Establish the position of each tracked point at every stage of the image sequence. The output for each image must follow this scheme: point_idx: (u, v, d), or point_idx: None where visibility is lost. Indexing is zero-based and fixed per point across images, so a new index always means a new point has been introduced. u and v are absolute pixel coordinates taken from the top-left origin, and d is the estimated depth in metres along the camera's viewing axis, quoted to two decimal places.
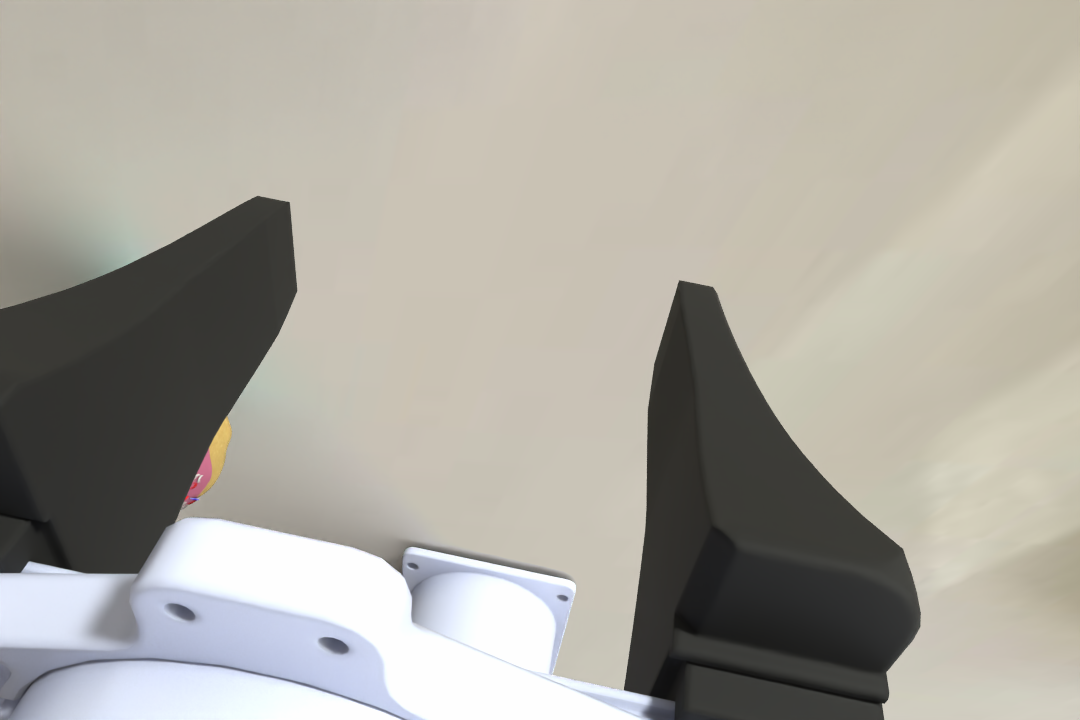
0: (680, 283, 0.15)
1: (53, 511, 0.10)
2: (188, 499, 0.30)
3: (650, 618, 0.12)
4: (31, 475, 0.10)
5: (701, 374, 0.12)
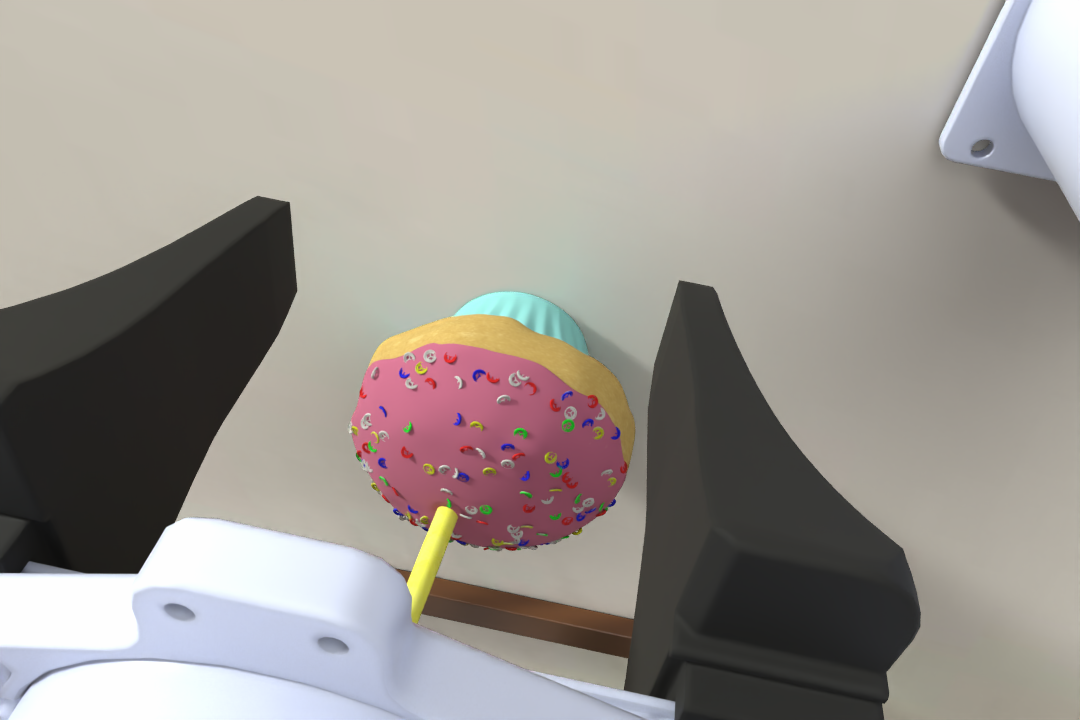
0: (680, 283, 0.15)
1: (53, 511, 0.10)
2: (564, 402, 0.23)
3: (650, 618, 0.12)
4: (31, 475, 0.10)
5: (701, 374, 0.12)
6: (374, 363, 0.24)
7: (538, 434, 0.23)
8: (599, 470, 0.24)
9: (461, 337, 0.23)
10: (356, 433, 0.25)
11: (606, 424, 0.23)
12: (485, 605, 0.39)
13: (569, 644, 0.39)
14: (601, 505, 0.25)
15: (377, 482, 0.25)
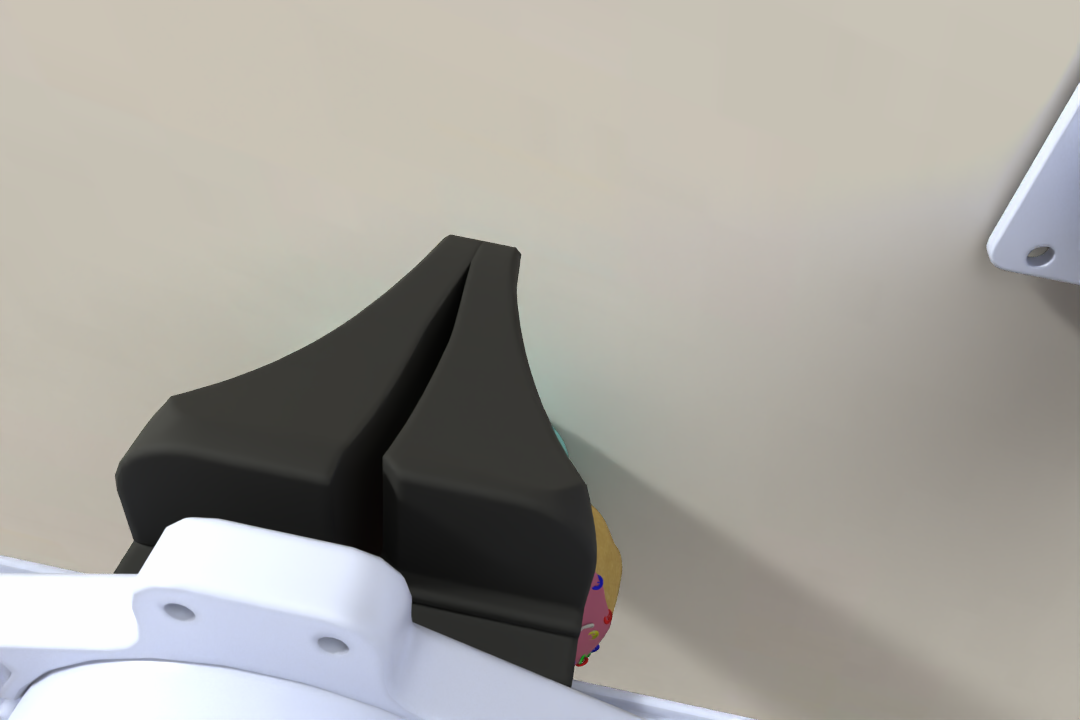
0: (481, 244, 0.15)
1: None
2: None
3: None
4: (336, 540, 0.09)
5: (463, 326, 0.12)
6: None
7: None
8: None
9: None
10: None
11: None
12: None
13: None
14: (581, 657, 0.21)
15: None
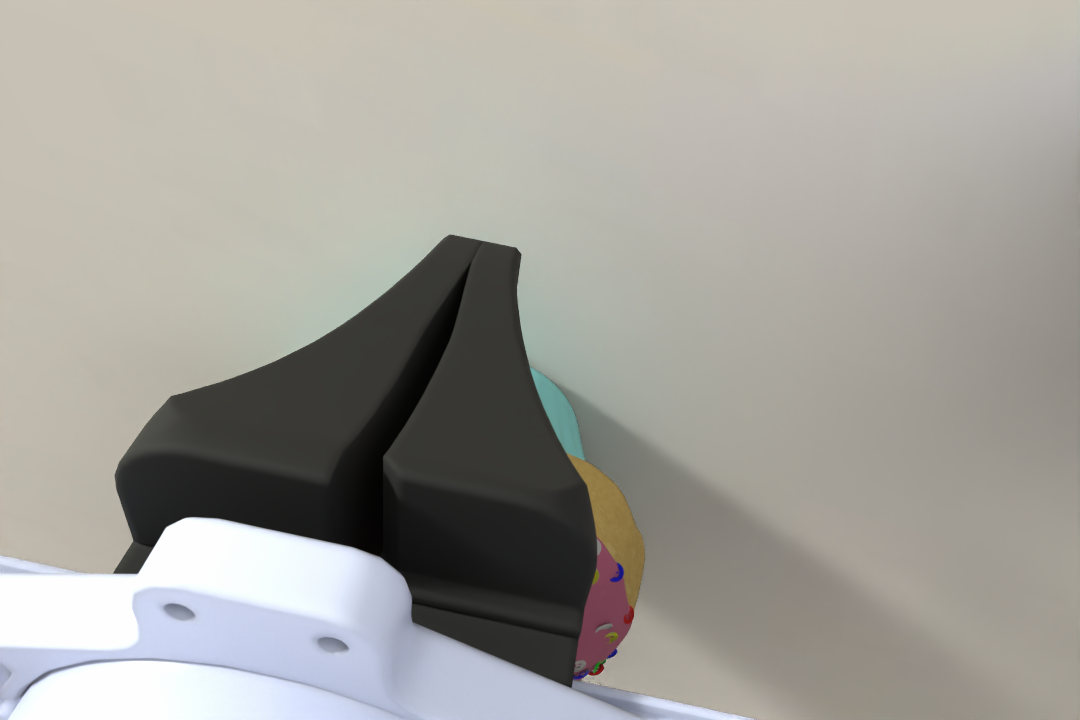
0: (481, 244, 0.15)
1: None
2: None
3: None
4: (336, 540, 0.09)
5: (463, 326, 0.12)
6: None
7: None
8: (593, 626, 0.16)
9: None
10: None
11: (603, 561, 0.16)
12: None
13: None
14: (596, 665, 0.17)
15: None
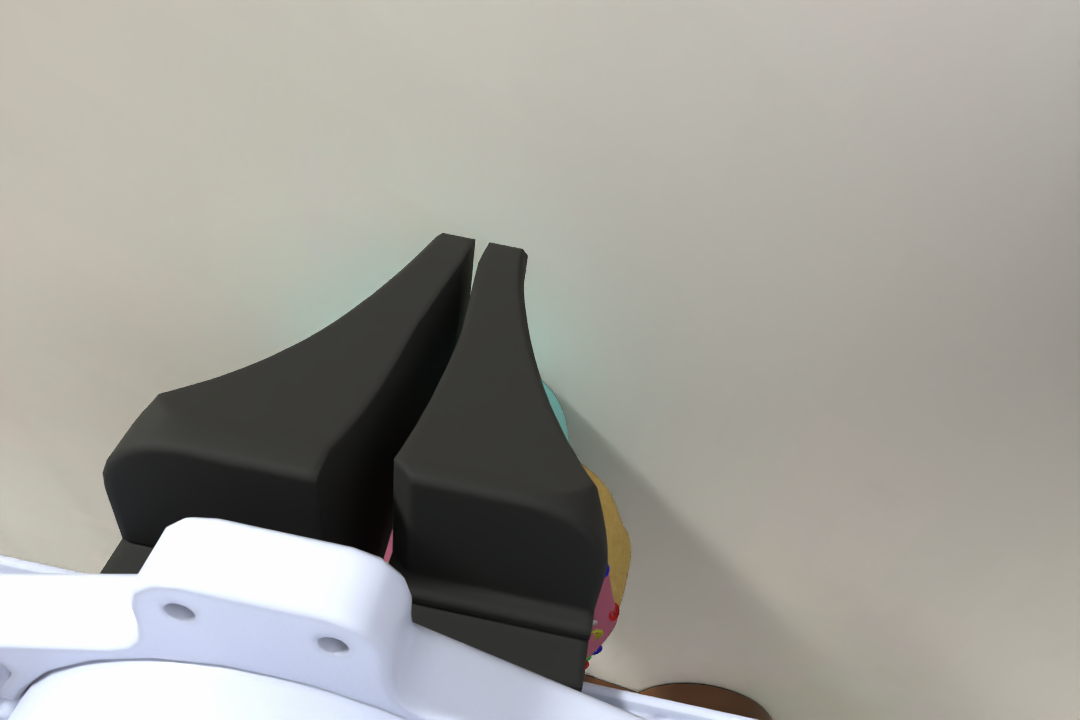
0: (488, 245, 0.15)
1: None
2: None
3: None
4: (324, 537, 0.09)
5: (471, 327, 0.12)
6: None
7: None
8: None
9: None
10: None
11: None
12: None
13: None
14: None
15: None
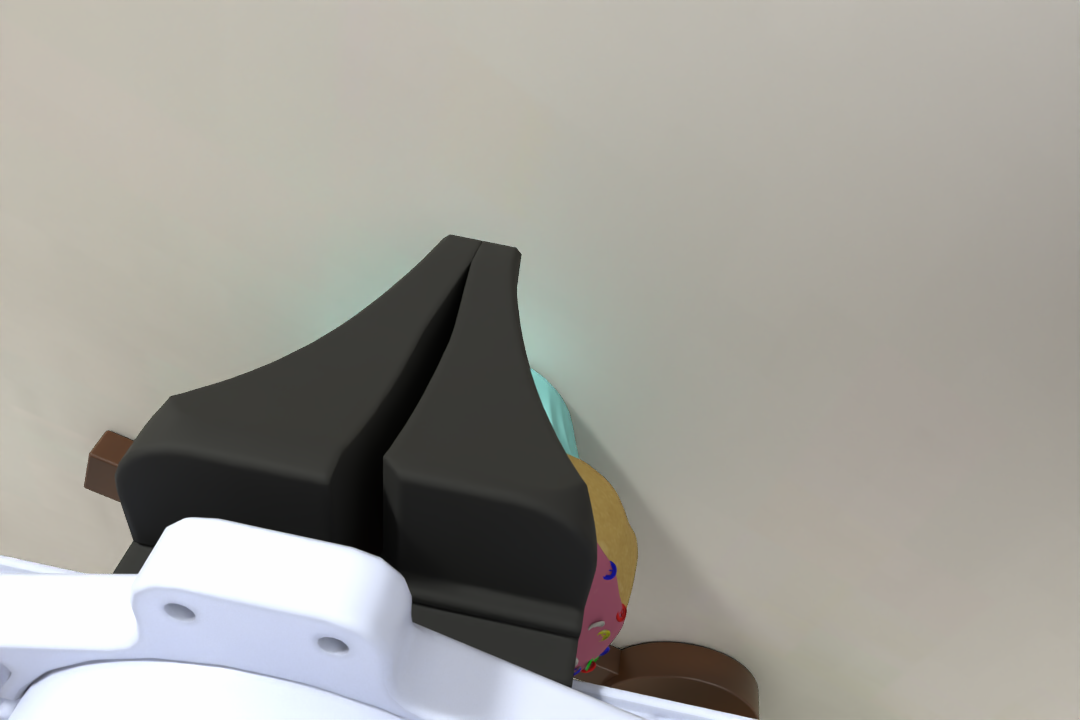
0: (481, 244, 0.15)
1: None
2: None
3: None
4: (335, 540, 0.09)
5: (463, 326, 0.12)
6: None
7: None
8: (585, 623, 0.16)
9: None
10: None
11: None
12: None
13: None
14: (588, 662, 0.18)
15: None
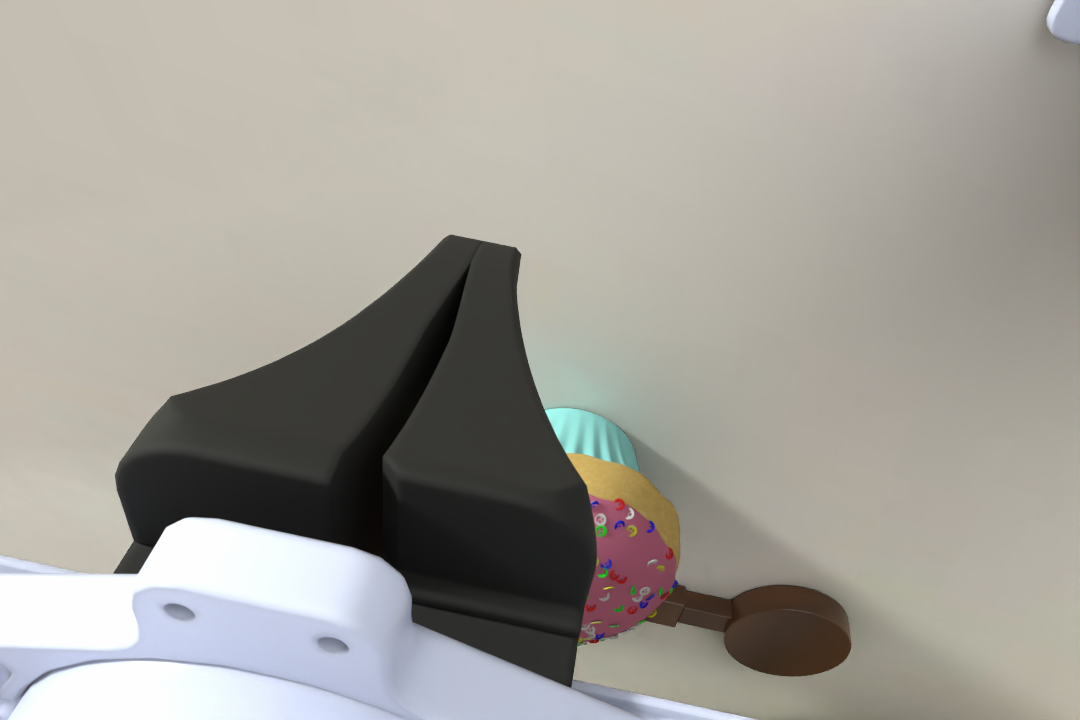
0: (481, 244, 0.15)
1: None
2: (593, 511, 0.25)
3: None
4: (336, 540, 0.09)
5: (463, 326, 0.12)
6: None
7: None
8: (644, 562, 0.26)
9: None
10: None
11: (638, 521, 0.26)
12: None
13: None
14: (660, 590, 0.27)
15: None
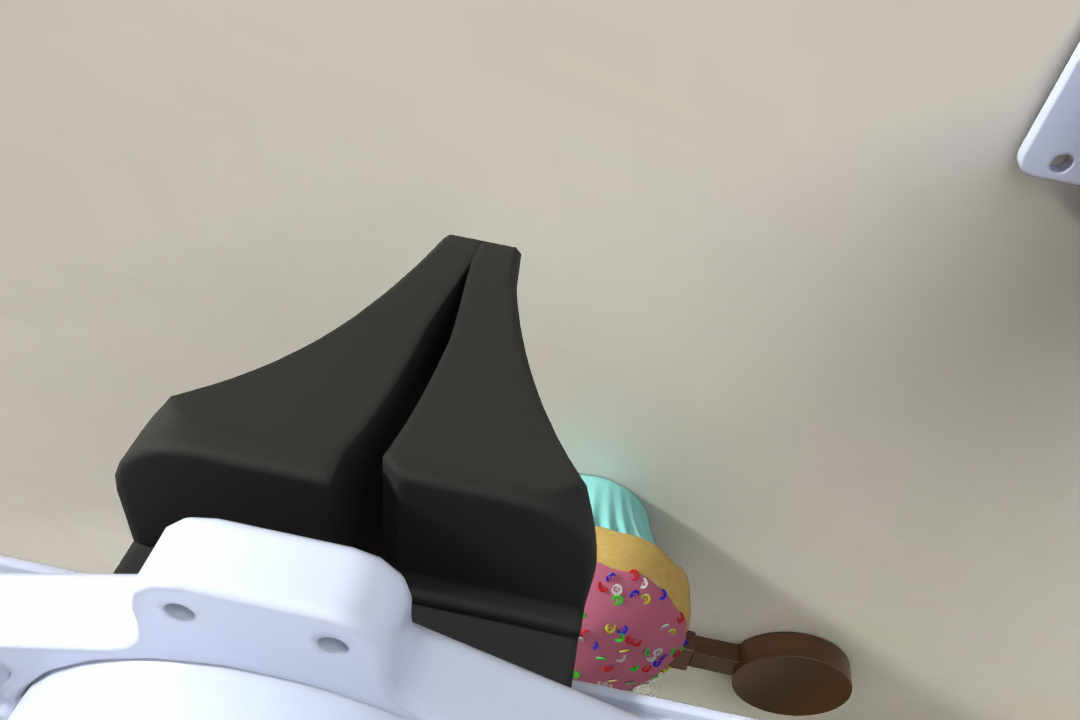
0: (481, 244, 0.15)
1: None
2: (610, 582, 0.28)
3: None
4: (336, 540, 0.09)
5: (463, 325, 0.12)
6: None
7: (595, 612, 0.28)
8: (657, 626, 0.29)
9: None
10: None
11: (651, 589, 0.28)
12: None
13: None
14: (672, 650, 0.30)
15: None
